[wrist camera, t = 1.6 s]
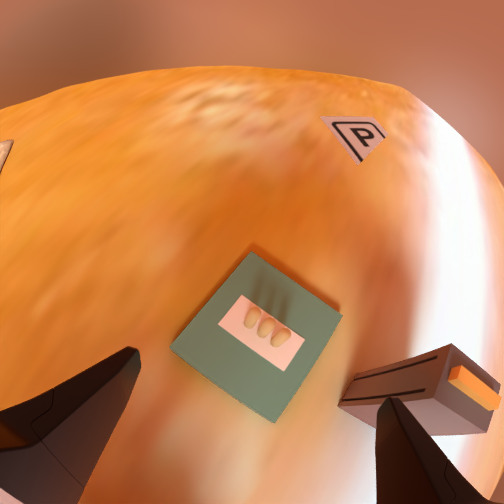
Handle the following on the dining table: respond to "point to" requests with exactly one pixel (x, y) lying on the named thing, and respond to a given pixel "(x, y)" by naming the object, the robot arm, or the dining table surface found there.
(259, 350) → the board
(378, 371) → the block
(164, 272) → the dining table surface
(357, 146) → the sign
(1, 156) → the relief sculpture
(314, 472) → the dining table surface
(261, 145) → the dining table surface
